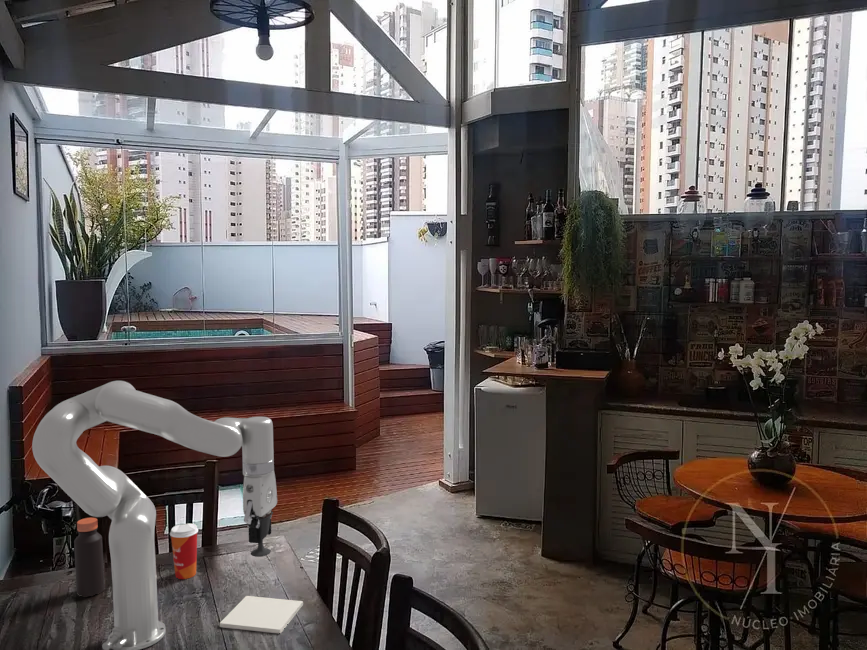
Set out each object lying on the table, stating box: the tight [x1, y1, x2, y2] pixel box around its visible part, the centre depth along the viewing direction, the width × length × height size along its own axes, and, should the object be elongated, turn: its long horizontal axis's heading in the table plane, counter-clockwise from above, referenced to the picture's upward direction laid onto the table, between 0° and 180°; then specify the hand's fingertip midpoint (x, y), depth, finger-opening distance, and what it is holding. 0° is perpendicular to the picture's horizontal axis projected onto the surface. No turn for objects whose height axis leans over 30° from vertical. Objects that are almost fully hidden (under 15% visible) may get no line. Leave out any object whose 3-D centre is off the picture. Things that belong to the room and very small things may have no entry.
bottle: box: [73, 517, 105, 597], centre depth 181 cm, size 7×7×20 cm
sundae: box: [250, 510, 274, 558], centre depth 166 cm, size 7×7×15 cm
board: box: [219, 595, 304, 634], centre depth 168 cm, size 14×16×1 cm
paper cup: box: [169, 523, 199, 580], centre depth 191 cm, size 8×8×14 cm
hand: (260, 537), depth 167 cm, fingers closed on sundae, 4 cm apart
